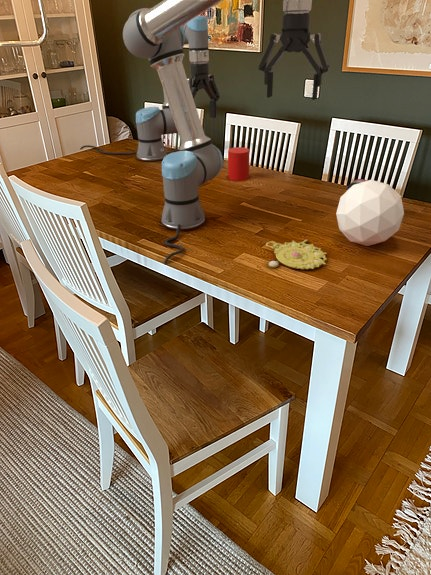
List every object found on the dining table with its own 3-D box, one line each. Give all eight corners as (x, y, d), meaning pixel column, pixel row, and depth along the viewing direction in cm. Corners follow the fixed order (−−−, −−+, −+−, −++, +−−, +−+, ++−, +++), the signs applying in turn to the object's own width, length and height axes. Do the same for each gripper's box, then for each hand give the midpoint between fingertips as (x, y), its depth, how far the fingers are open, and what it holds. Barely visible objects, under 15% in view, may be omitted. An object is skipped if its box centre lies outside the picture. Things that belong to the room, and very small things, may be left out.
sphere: (372, 267, 139) (394, 238, 121) (318, 234, 144) (331, 202, 125) (402, 223, 144) (427, 189, 125) (348, 192, 149) (365, 155, 130)
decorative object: (309, 275, 120) (249, 251, 130) (307, 282, 121) (248, 258, 131) (343, 246, 133) (286, 226, 143) (341, 253, 134) (285, 233, 145)
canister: (225, 175, 197) (225, 148, 191) (244, 173, 200) (244, 146, 193) (232, 182, 190) (232, 154, 184) (252, 179, 192) (252, 151, 186)
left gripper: (183, 66, 161) (187, 126, 172) (227, 60, 176) (228, 116, 187) (169, 65, 165) (173, 124, 176) (213, 59, 180) (215, 114, 192)
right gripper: (346, 11, 117) (337, 97, 128) (257, 13, 126) (256, 93, 137) (340, 12, 111) (331, 102, 122) (248, 14, 120) (247, 97, 132)
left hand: (202, 120), depth 182 cm, fingers open, 13 cm apart
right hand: (291, 98), depth 130 cm, fingers open, 13 cm apart
